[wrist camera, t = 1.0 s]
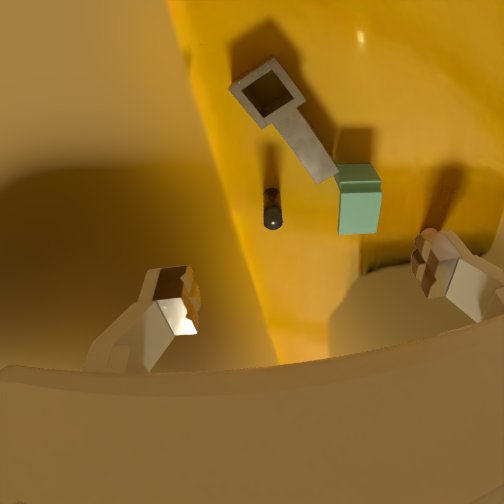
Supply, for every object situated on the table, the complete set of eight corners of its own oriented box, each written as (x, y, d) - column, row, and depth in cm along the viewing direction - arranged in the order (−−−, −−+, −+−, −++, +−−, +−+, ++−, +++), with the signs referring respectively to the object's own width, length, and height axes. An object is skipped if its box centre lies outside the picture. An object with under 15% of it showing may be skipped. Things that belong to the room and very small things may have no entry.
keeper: (331, 210, 42) (338, 235, 38) (332, 164, 37) (341, 185, 33) (365, 209, 41) (376, 232, 37) (370, 163, 37) (383, 184, 33)
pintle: (274, 185, 39) (275, 211, 35) (283, 197, 41) (286, 224, 36) (260, 193, 40) (259, 220, 36) (269, 205, 42) (270, 232, 37)
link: (231, 82, 31) (228, 89, 28) (272, 54, 28) (274, 57, 25) (303, 173, 38) (307, 189, 35) (341, 152, 36) (349, 166, 33)
